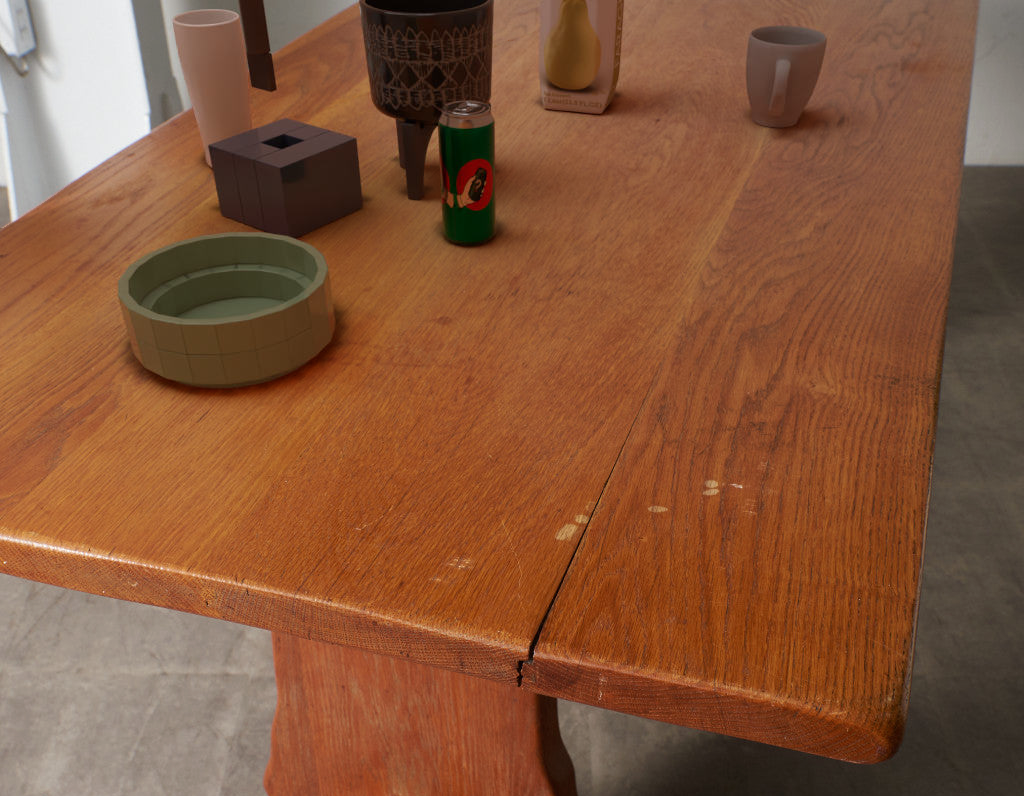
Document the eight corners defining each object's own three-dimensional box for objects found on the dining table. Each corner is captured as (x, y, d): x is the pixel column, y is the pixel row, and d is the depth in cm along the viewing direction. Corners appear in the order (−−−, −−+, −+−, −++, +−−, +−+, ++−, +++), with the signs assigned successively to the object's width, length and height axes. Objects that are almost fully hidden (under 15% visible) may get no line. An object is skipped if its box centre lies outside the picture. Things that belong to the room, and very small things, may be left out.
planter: (351, 177, 108) (332, -5, 97) (447, 150, 115) (440, -24, 103) (422, 214, 101) (410, 21, 89) (520, 182, 107) (521, -1, 96)
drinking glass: (250, 177, 108) (225, 26, 99) (190, 173, 109) (159, 24, 100) (271, 155, 113) (249, 9, 104) (214, 151, 114) (187, 7, 105)
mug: (740, 106, 127) (752, 23, 120) (812, 111, 125) (828, 27, 119) (732, 138, 118) (745, 50, 111) (810, 144, 116) (826, 55, 110)
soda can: (505, 232, 97) (505, 104, 90) (478, 252, 94) (474, 120, 86) (461, 221, 99) (457, 95, 92) (432, 240, 96) (425, 111, 88)
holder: (221, 215, 100) (207, 144, 96) (295, 184, 107) (285, 117, 102) (290, 240, 96) (279, 168, 91) (363, 207, 102) (356, 137, 97)
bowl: (95, 353, 80) (74, 283, 76) (247, 281, 89) (235, 216, 85) (226, 420, 72) (210, 346, 68) (376, 334, 82) (369, 265, 78)
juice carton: (534, 111, 125) (536, -115, 110) (551, 92, 131) (555, -125, 116) (607, 118, 123) (620, -111, 108) (621, 98, 129) (635, -121, 114)
